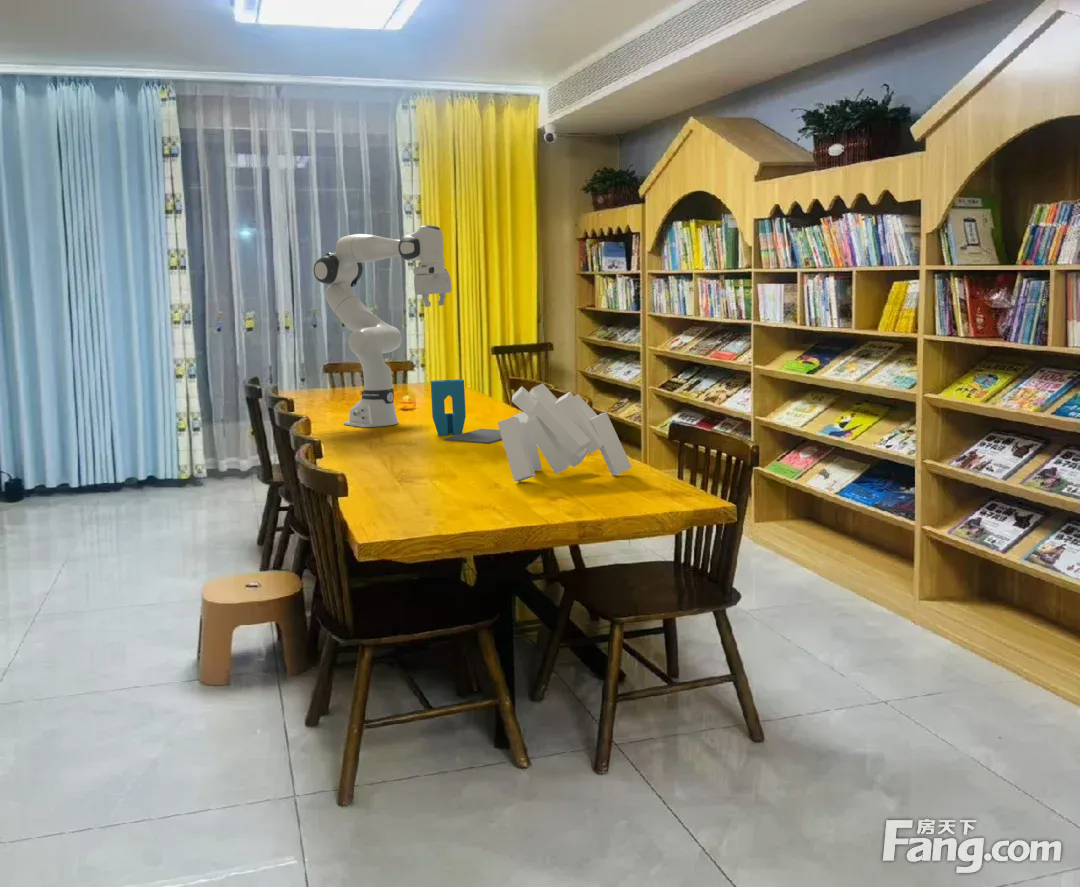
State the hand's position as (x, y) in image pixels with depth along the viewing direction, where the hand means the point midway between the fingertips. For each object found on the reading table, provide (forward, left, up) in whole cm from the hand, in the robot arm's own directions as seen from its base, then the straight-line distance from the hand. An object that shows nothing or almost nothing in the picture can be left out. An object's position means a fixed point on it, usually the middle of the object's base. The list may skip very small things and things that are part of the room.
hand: (434, 306), depth 393 cm
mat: (+27, -9, -47) cm, 55 cm away
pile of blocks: (+89, -59, -47) cm, 117 cm away
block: (+11, -9, -47) cm, 49 cm away
